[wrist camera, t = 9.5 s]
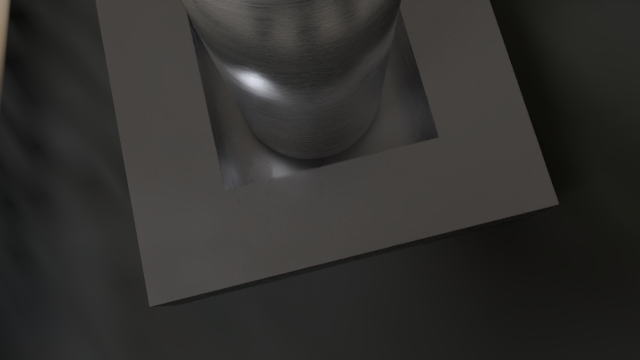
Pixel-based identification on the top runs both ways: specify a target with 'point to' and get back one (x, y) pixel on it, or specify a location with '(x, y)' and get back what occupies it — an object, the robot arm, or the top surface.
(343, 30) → the shiny metal cylinder
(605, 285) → the top surface
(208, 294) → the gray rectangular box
